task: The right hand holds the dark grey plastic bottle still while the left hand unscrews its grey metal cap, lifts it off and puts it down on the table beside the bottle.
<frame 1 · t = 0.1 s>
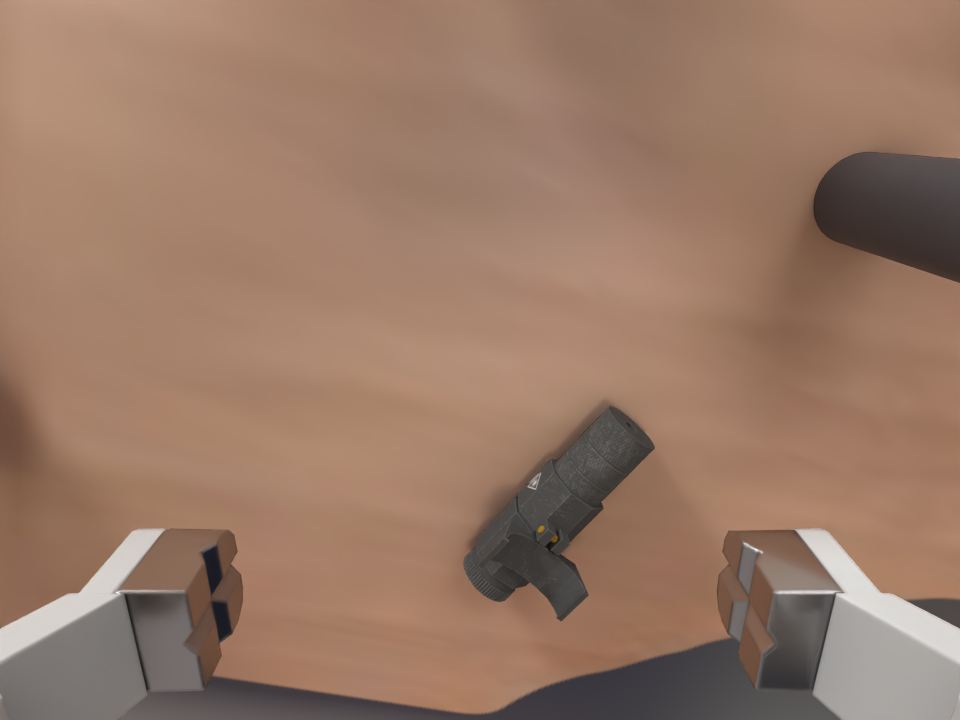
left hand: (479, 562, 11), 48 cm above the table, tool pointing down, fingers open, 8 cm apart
bottle: (859, 199, 55), on the table
laser sight: (548, 490, 66), on the table
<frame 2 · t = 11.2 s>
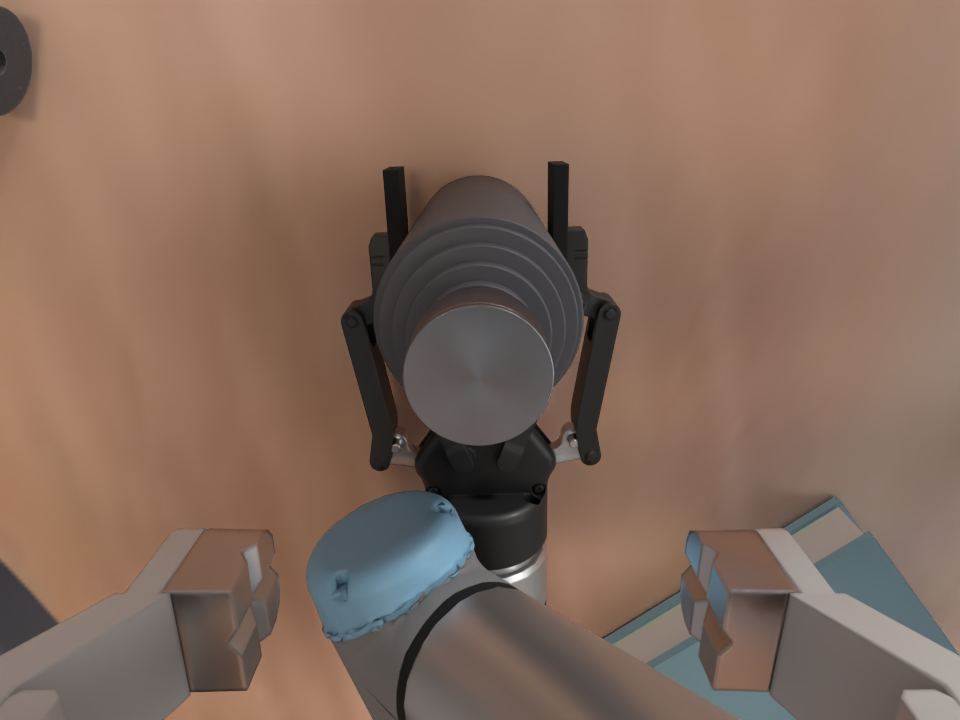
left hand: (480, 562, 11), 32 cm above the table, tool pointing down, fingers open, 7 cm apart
right hand: (475, 166, 33), fingers closed on bottle, 8 cm apart
bottle: (478, 238, 41), on the table, touching right hand
book: (757, 638, 52), on the table
cap: (478, 374, 19), point 24 cm above the table, screwed on, not yet turned
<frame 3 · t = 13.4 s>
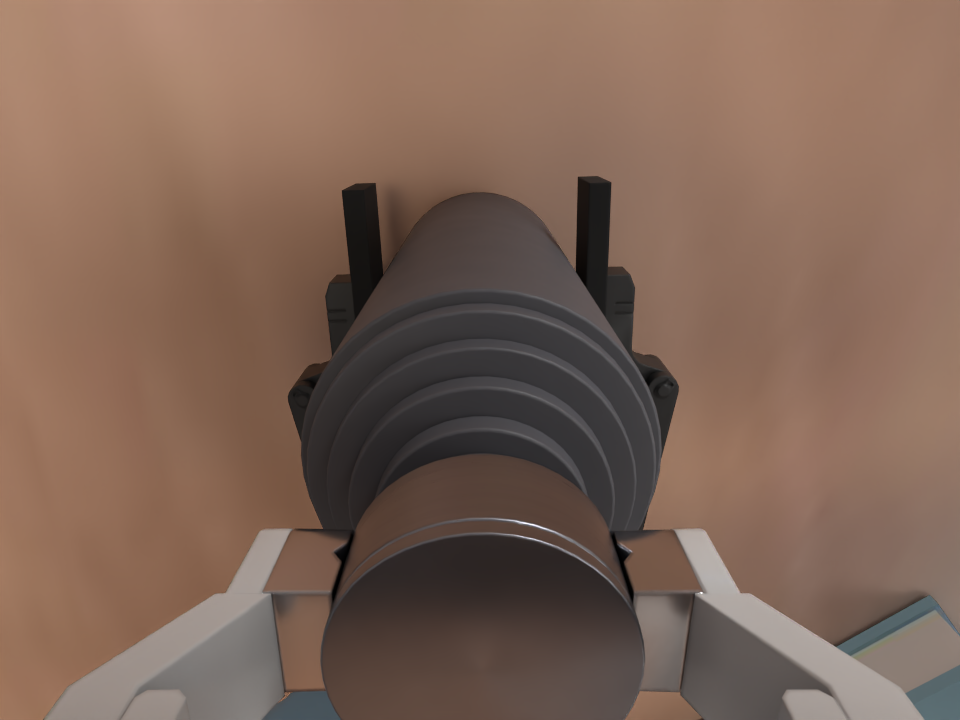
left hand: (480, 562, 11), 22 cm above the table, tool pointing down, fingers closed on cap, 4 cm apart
bottle: (480, 274, 31), on the table, touching right hand
cap: (482, 653, 9), point 24 cm above the table, screwed on, not yet turned, touching left hand
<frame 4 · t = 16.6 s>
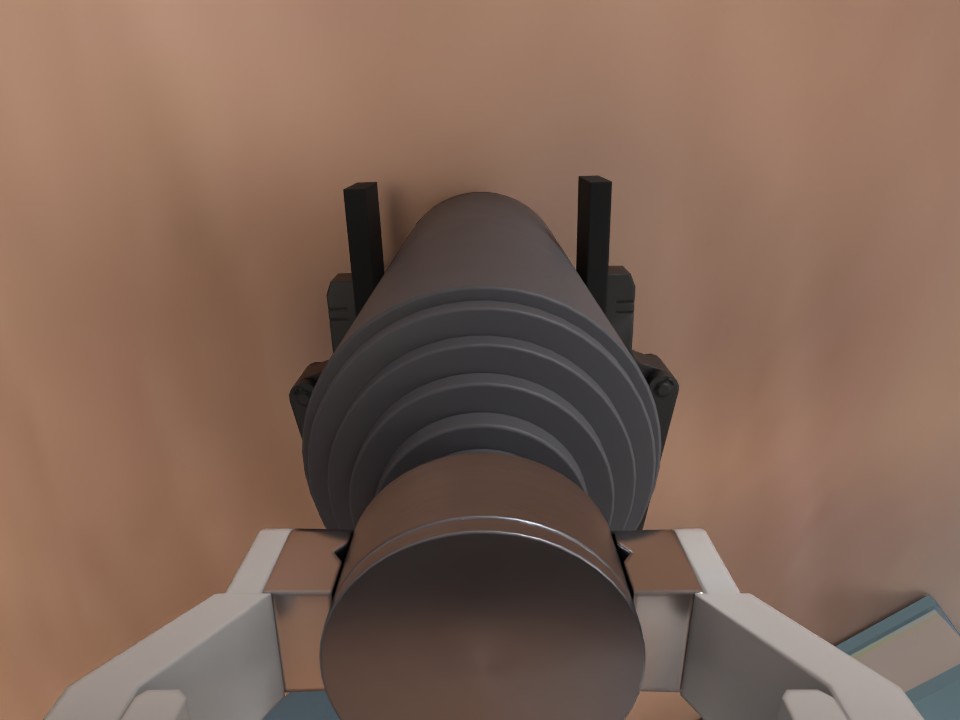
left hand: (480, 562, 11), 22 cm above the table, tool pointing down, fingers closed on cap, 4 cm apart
bottle: (481, 274, 31), on the table, touching right hand
cap: (482, 652, 9), point 24 cm above the table, turned 81° so far, risen 0.1 cm, still on its thread, touching left hand
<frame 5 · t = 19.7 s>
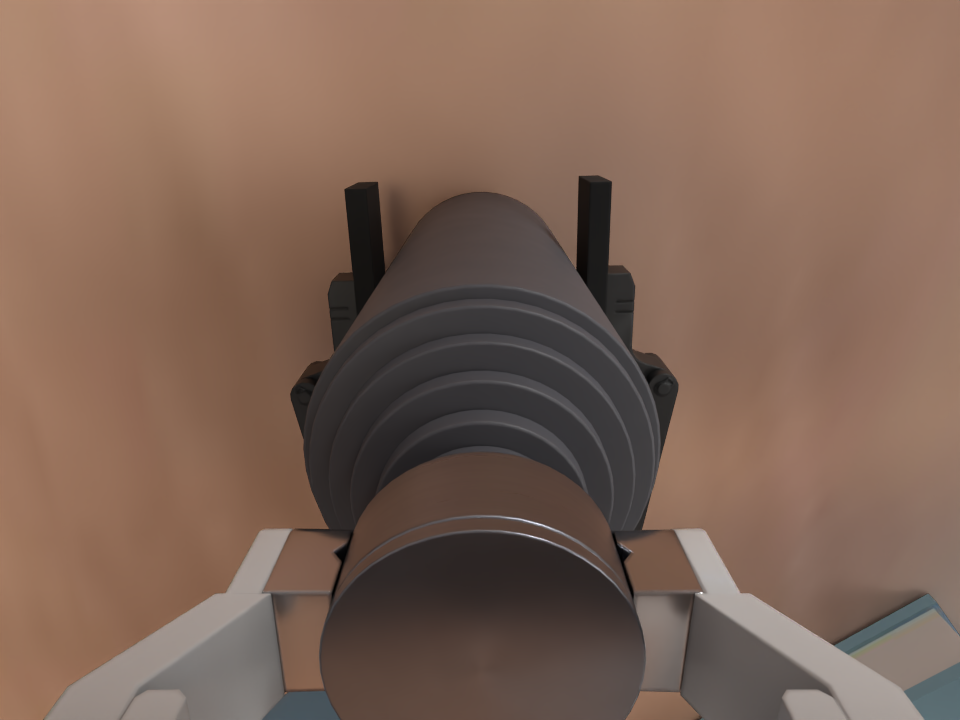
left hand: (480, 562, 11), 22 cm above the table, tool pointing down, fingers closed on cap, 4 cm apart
bottle: (481, 273, 31), on the table, touching right hand
cap: (482, 652, 9), point 24 cm above the table, turned 163° so far, risen 0.2 cm, still on its thread, touching left hand
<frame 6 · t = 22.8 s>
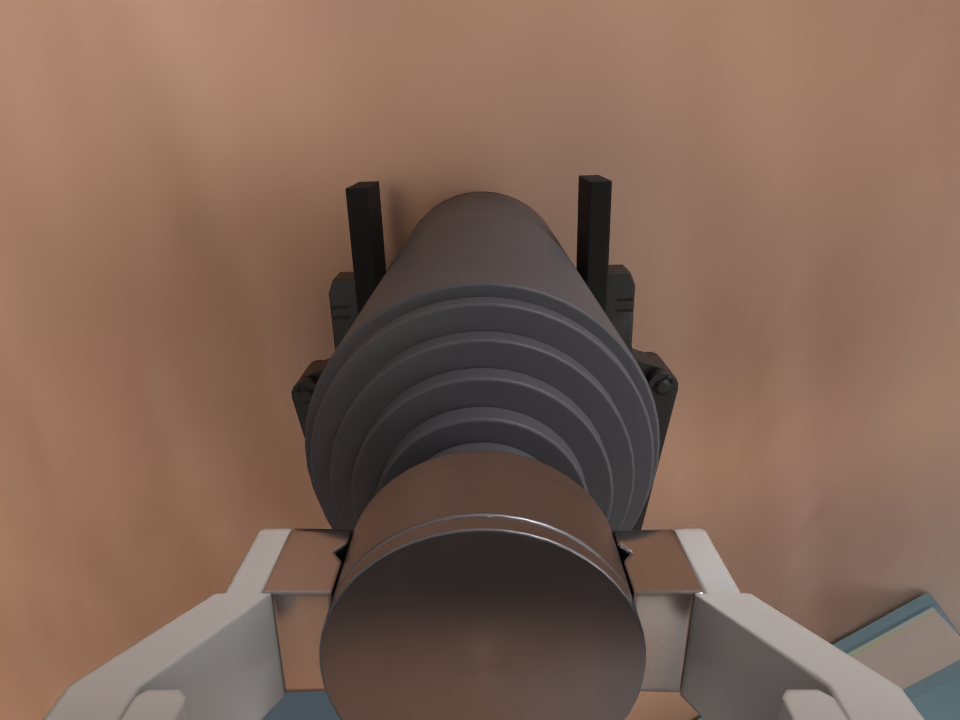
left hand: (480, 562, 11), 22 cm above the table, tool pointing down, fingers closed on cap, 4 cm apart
bottle: (482, 273, 31), on the table, touching right hand
cap: (482, 651, 9), point 24 cm above the table, turned 244° so far, risen 0.3 cm, still on its thread, touching left hand
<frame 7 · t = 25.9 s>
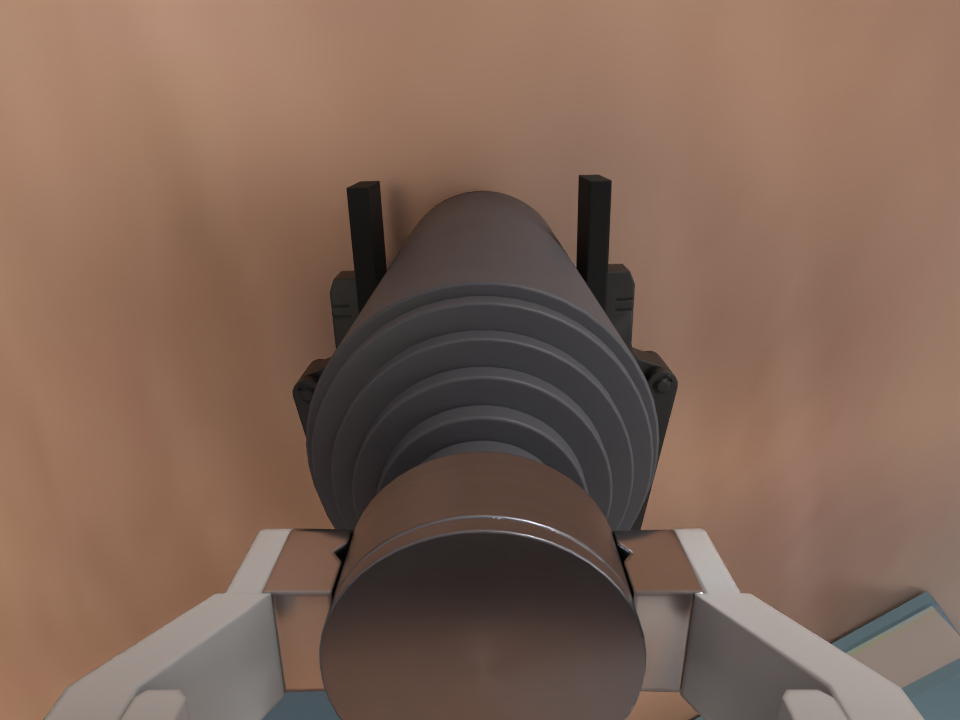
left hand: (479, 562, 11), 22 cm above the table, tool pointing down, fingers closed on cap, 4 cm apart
bottle: (482, 272, 31), on the table, touching right hand
cap: (482, 652, 9), point 24 cm above the table, turned 325° so far, risen 0.4 cm, still on its thread, touching left hand
when the left hand's fingers open (2 cm above the table, at t = 35.6 s): cap drops 2 cm, point 2 cm above the table.
when the right hand's fingers open (6 cm above the table, at t = 36.7 s): bottle stays where it is, on the table.
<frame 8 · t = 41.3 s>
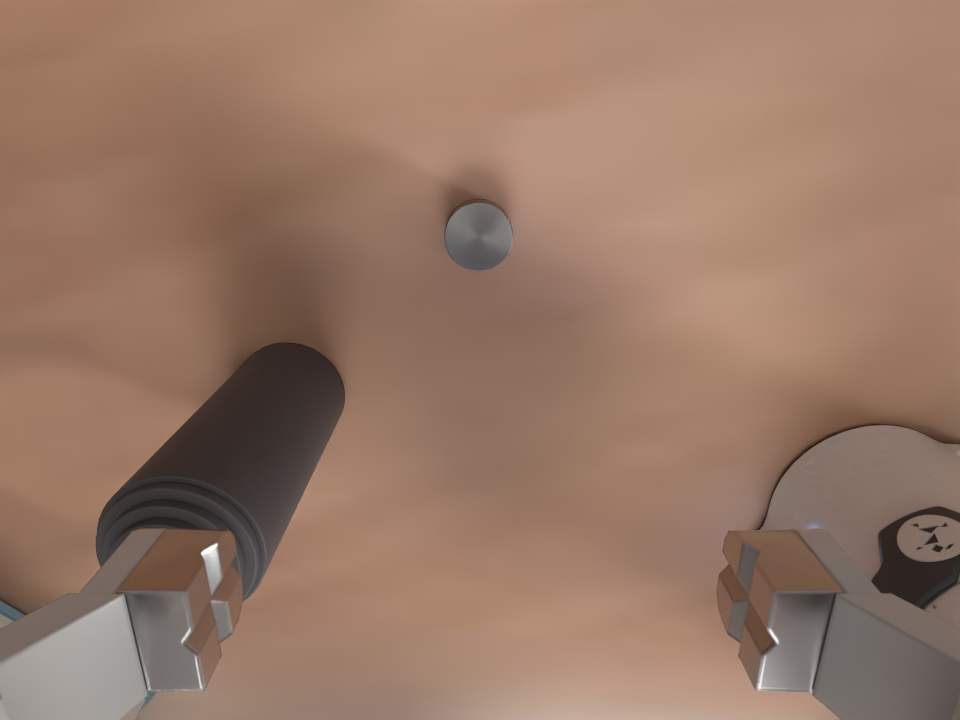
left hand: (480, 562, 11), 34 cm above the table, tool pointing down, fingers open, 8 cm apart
bottle: (291, 392, 47), on the table
cap: (478, 236, 41), point 2 cm above the table, off its thread
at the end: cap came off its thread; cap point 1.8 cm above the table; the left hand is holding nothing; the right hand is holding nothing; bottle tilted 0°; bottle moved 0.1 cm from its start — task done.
